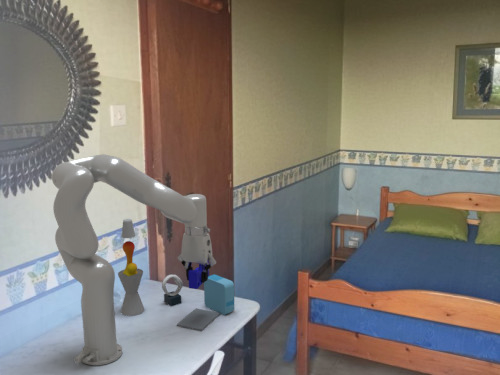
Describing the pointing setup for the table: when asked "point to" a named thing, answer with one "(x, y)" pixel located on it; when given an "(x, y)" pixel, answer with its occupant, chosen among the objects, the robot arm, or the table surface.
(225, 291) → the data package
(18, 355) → the table surface
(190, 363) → the table surface
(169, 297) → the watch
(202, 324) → the mat
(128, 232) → the lava lamp
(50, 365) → the table surface
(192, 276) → the cable clip
